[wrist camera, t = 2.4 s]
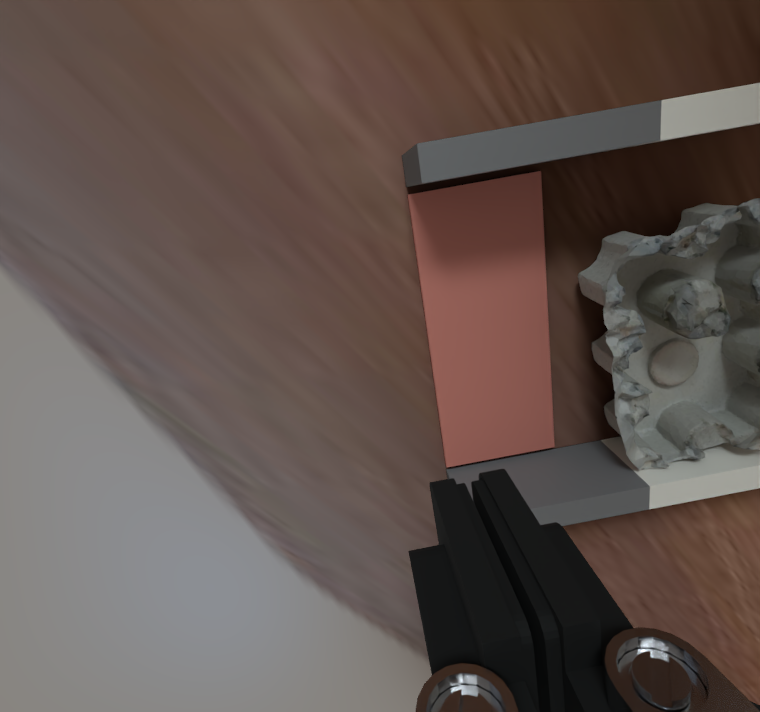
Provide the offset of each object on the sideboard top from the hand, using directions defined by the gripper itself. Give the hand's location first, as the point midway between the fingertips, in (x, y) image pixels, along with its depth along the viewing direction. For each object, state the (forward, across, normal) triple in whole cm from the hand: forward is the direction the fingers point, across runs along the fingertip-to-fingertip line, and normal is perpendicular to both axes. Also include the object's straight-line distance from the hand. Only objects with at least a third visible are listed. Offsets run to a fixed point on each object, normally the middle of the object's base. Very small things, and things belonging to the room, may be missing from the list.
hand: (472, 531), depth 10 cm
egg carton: (+12, -14, -1) cm, 19 cm away
